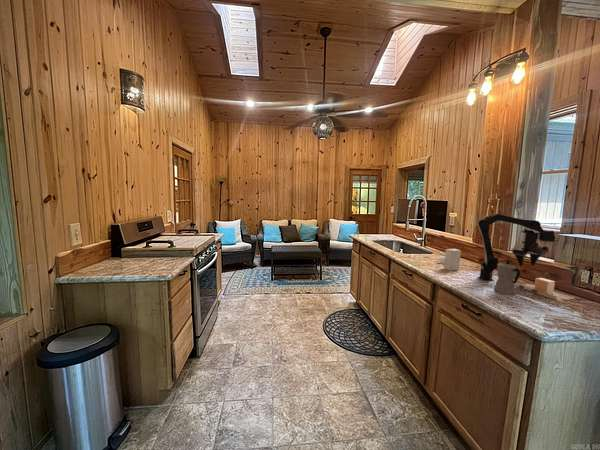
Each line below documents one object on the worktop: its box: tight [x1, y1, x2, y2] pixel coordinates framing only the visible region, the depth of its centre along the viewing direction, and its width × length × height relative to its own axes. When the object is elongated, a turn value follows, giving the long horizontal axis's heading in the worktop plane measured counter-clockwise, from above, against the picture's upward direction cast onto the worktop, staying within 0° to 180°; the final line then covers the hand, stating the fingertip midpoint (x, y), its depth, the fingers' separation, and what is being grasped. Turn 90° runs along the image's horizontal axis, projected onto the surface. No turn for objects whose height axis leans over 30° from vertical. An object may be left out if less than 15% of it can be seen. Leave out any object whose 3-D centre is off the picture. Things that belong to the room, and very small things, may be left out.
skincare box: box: [443, 248, 462, 272], centre depth 192 cm, size 8×6×15 cm
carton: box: [534, 277, 556, 294], centre depth 148 cm, size 4×6×7 cm
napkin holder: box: [437, 256, 445, 265], centre depth 210 cm, size 15×11×6 cm
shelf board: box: [514, 282, 574, 301], centre depth 149 cm, size 14×22×3 cm, turn 14°
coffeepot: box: [493, 260, 521, 296], centre depth 147 cm, size 15×9×18 cm, turn 179°
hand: (526, 265), depth 163 cm, fingers open, 9 cm apart
